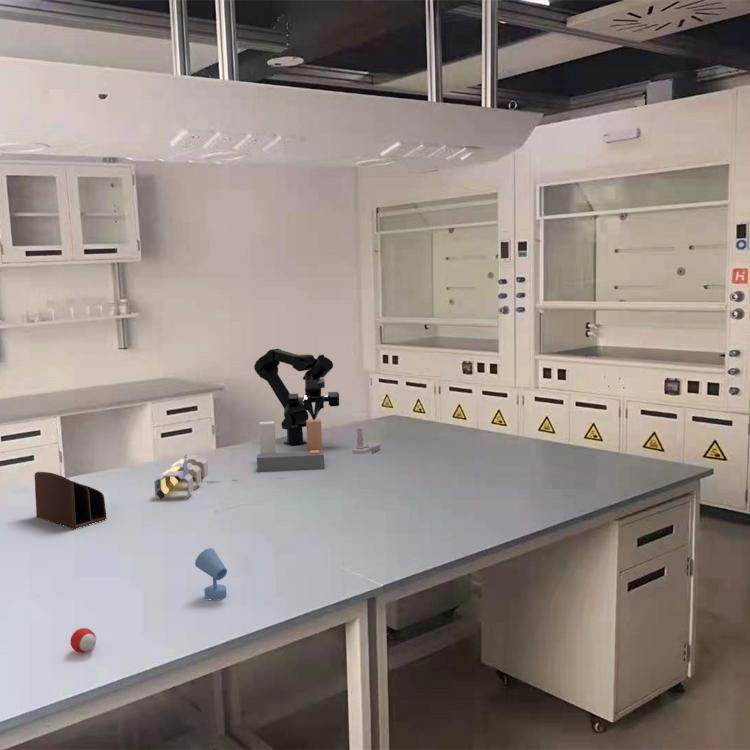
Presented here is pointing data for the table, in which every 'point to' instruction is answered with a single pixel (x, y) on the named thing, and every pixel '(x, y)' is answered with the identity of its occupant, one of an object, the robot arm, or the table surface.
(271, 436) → the key
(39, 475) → the letter holder
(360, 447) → the electronic device
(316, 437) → the key
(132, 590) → the table surface
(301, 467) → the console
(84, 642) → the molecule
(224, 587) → the spotlight
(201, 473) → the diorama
